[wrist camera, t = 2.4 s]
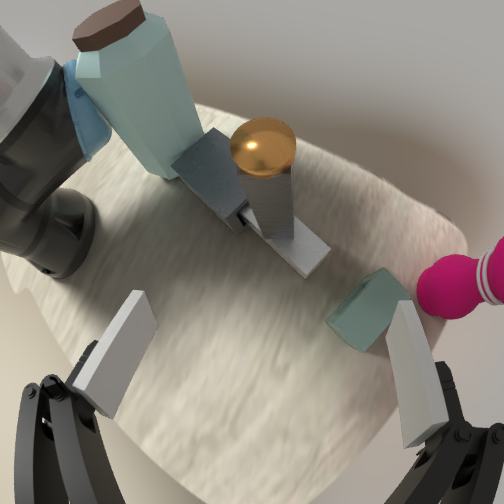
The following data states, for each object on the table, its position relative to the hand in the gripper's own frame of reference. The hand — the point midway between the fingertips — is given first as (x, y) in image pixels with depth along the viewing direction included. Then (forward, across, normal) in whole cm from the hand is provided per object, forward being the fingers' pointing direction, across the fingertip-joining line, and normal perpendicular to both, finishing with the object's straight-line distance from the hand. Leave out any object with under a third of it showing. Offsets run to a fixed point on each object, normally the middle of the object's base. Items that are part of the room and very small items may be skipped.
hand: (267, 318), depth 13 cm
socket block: (+13, +9, -12) cm, 20 cm away
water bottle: (+28, -16, +3) cm, 32 cm away
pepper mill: (+15, +20, -11) cm, 27 cm away
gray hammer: (+20, -3, -4) cm, 20 cm away
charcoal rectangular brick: (+24, -7, -2) cm, 25 cm away
